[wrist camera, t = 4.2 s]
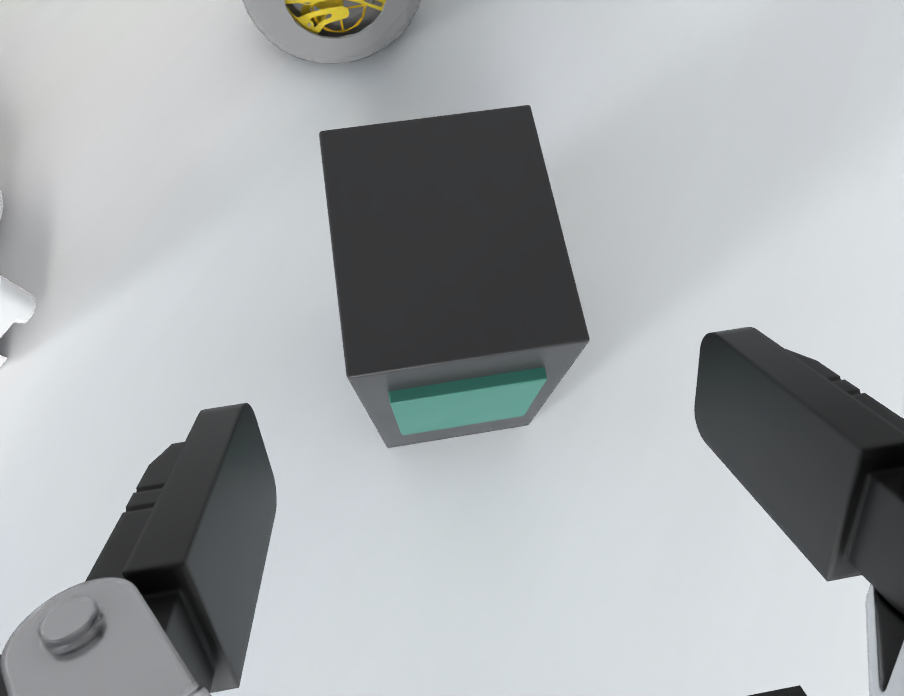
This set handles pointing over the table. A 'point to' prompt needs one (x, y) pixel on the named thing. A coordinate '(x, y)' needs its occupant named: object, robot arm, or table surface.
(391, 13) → the pocket watch
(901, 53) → the table surface
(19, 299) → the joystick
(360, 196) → the dark grey rectangular block
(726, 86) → the table surface
